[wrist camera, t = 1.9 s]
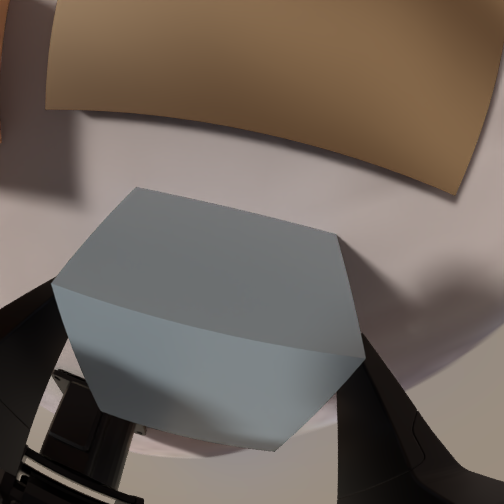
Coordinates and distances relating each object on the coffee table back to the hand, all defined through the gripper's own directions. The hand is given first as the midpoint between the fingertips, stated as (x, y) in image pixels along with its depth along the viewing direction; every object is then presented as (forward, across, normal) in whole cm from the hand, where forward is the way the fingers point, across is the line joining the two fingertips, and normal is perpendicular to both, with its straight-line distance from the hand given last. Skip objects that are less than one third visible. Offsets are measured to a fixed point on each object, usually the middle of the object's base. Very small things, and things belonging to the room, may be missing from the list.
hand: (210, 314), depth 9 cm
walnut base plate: (+1, 0, -11) cm, 11 cm away
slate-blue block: (+1, 0, 0) cm, 1 cm away
